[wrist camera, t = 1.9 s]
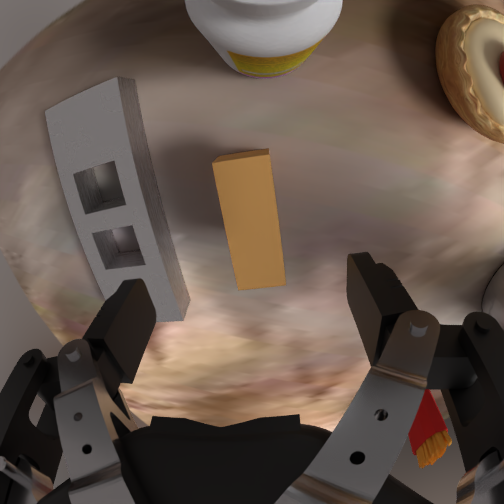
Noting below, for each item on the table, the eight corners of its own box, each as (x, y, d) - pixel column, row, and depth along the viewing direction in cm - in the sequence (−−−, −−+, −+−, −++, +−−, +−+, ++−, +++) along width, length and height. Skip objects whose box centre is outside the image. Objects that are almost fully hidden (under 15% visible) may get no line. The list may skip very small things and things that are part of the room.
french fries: (416, 408, 37) (435, 466, 26) (396, 413, 37) (413, 474, 26) (434, 378, 33) (461, 443, 22) (412, 383, 33) (437, 452, 22)
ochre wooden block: (267, 141, 20) (269, 154, 14) (280, 240, 24) (286, 285, 18) (226, 147, 20) (212, 163, 15) (244, 244, 24) (238, 290, 18)
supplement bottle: (329, 45, 16) (409, -19, 5) (261, 97, 18) (259, 77, 7) (265, -14, 14) (267, -120, 3) (198, 38, 16) (120, -32, 5)
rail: (134, 79, 18) (116, 76, 15) (190, 299, 27) (183, 320, 24) (66, 108, 18) (44, 110, 16) (127, 304, 27) (116, 323, 25)
